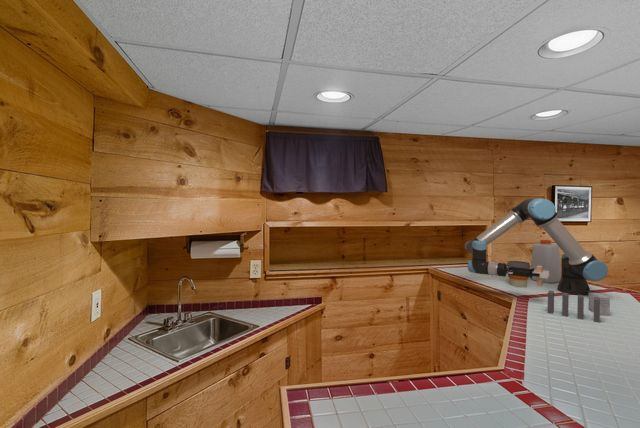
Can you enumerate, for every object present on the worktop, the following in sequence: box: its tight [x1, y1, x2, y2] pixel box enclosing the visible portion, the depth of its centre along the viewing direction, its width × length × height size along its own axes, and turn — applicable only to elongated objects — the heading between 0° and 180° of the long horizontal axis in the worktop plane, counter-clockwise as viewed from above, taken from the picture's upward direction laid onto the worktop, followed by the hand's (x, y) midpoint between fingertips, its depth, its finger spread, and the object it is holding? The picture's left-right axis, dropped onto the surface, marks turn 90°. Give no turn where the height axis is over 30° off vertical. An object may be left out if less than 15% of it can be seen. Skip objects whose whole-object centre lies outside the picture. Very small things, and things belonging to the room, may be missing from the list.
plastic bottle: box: [529, 239, 561, 284], centre depth 209 cm, size 15×15×28 cm
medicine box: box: [588, 292, 611, 316], centre depth 146 cm, size 8×4×9 cm, turn 168°
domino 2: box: [561, 292, 570, 318], centre depth 144 cm, size 2×5×10 cm, turn 137°
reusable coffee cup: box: [506, 260, 531, 288], centre depth 197 cm, size 12×13×15 cm
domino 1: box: [547, 289, 555, 315], centre depth 147 cm, size 2×5×10 cm, turn 137°
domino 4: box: [593, 297, 601, 324], centre depth 136 cm, size 2×5×10 cm, turn 138°
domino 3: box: [577, 295, 585, 320], centre depth 140 cm, size 2×5×10 cm, turn 138°
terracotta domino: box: [536, 266, 544, 287], centre depth 160 cm, size 2×5×10 cm, turn 137°
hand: (548, 274), depth 157 cm, fingers closed on terracotta domino, 5 cm apart
